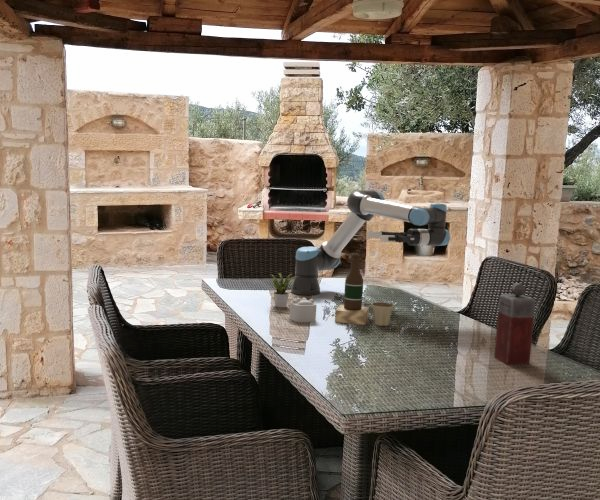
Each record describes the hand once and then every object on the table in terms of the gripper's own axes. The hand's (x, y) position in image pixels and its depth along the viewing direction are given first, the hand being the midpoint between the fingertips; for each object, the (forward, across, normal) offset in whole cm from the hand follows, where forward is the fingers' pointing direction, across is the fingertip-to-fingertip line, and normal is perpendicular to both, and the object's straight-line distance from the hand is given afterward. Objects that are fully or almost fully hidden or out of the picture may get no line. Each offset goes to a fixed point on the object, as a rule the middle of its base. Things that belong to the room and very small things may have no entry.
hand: (374, 236), depth 296 cm
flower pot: (+2, -18, -36) cm, 40 cm away
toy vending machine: (-22, -74, -35) cm, 85 cm away
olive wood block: (+12, -9, -36) cm, 39 cm away
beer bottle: (+12, -9, -31) cm, 34 cm away
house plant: (+34, +20, -36) cm, 54 cm away
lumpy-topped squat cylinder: (+33, -4, -36) cm, 49 cm away
